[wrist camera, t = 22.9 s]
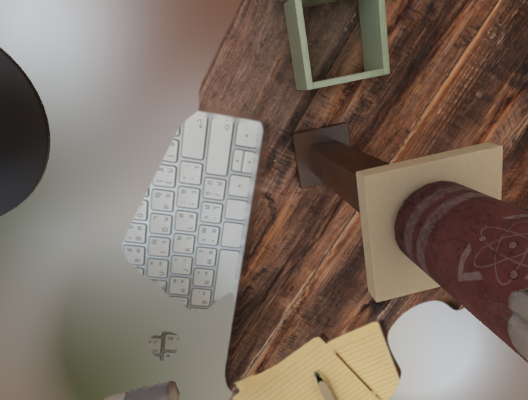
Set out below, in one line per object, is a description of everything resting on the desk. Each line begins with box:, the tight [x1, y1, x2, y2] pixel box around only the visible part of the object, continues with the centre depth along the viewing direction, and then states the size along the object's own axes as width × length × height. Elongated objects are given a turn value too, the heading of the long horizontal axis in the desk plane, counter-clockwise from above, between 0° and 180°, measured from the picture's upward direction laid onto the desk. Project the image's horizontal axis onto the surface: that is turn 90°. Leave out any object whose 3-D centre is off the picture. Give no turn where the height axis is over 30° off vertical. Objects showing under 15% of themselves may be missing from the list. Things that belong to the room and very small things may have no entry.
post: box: [291, 122, 389, 213], centre depth 40 cm, size 8×8×27 cm
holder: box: [284, 0, 390, 90], centre depth 45 cm, size 11×11×6 cm
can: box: [394, 181, 528, 362], centre depth 19 cm, size 6×6×14 cm
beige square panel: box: [356, 142, 503, 302], centre depth 27 cm, size 10×10×2 cm
